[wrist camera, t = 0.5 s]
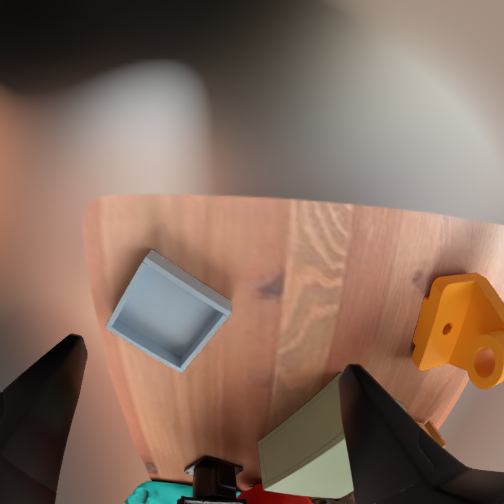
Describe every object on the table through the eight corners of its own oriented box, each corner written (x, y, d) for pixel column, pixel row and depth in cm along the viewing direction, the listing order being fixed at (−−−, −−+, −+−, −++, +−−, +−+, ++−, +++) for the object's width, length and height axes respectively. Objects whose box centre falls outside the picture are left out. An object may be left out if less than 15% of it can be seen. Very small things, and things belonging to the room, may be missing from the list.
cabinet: (401, 402, 31) (425, 440, 24) (327, 460, 34) (339, 498, 27) (340, 371, 28) (365, 422, 21) (256, 441, 31) (262, 490, 24)
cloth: (228, 476, 33) (229, 487, 31) (252, 503, 38) (253, 512, 35) (93, 474, 34) (90, 483, 32) (132, 504, 38) (130, 512, 36)
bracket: (429, 274, 25) (508, 331, 14) (471, 270, 26) (544, 315, 15) (406, 359, 29) (458, 427, 17) (448, 348, 29) (501, 403, 18)
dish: (184, 360, 26) (181, 373, 24) (112, 316, 24) (105, 327, 22) (232, 301, 24) (232, 312, 23) (151, 248, 23) (145, 256, 21)
